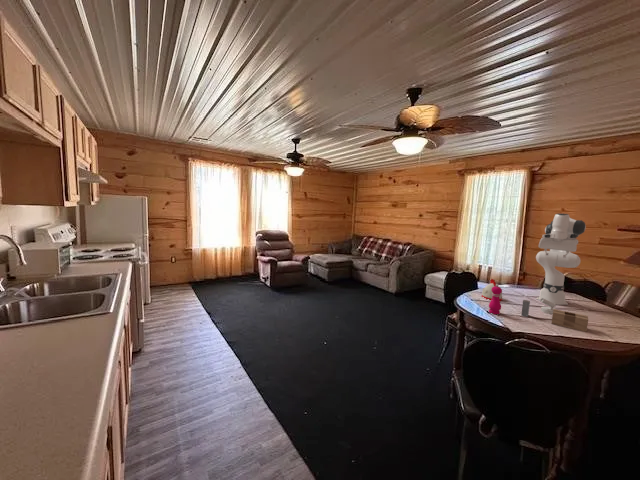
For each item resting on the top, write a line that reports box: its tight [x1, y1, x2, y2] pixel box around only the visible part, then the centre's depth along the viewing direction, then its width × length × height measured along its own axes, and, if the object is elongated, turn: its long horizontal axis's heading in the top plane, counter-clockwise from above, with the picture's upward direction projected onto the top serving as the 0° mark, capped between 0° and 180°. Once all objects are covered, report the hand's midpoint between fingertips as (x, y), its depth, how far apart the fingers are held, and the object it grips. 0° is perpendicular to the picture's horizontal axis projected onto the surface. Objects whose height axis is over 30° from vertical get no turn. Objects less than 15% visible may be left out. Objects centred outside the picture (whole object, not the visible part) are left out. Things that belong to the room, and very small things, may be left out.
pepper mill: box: [488, 283, 503, 315], centre depth 191 cm, size 7×7×20 cm
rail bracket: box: [520, 299, 531, 318], centre depth 188 cm, size 4×4×10 cm
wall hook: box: [539, 298, 558, 315], centre depth 196 cm, size 9×10×10 cm
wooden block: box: [550, 308, 589, 333], centre depth 173 cm, size 8×16×8 cm, turn 49°
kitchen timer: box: [481, 278, 503, 302], centre depth 223 cm, size 14×14×15 cm
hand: (555, 256), depth 196 cm, fingers open, 8 cm apart
